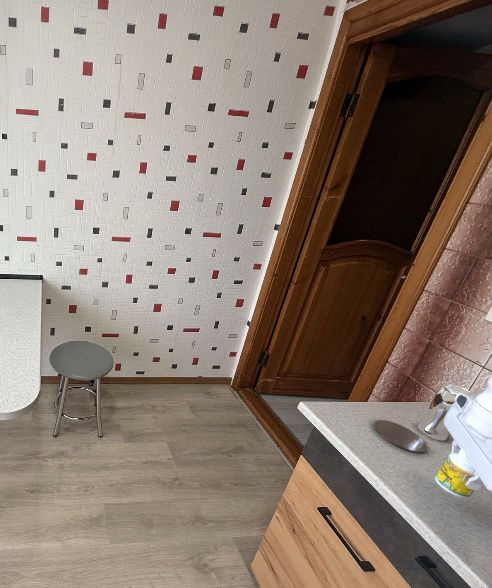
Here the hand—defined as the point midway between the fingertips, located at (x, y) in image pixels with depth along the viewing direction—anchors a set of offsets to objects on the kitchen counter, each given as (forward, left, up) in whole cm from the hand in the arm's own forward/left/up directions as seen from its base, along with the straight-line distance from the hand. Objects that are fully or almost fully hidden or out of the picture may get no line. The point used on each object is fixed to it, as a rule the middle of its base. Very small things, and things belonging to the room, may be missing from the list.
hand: (461, 473), depth 69 cm
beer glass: (-9, -31, -11) cm, 34 cm away
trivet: (0, -23, -11) cm, 25 cm away
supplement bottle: (0, 0, -4) cm, 4 cm away
